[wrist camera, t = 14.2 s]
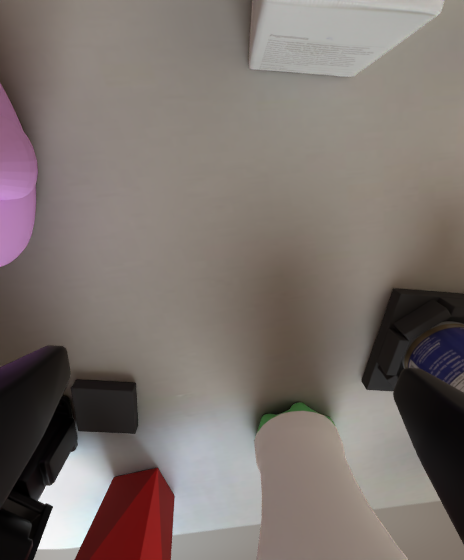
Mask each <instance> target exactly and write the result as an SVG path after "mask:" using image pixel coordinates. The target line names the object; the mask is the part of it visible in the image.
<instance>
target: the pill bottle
mask: <svg viewBox="0 0 464 560" xmlns="http://www.w3.org/2000/svg"><path fill="white" fill-rule="evenodd" d="M402 363H403V367H404V368H419V369H422V370H424V371H426V372H428V373H430V374H431V375H433V376H435V377H437V378H439V379H440V380H442V381H444V382H446V383H448V384H449V385H451V386H453V387H455V388H457V389H458V390H460V391H462V392H464V324H462V323H459V322H453V321H444V322H441V323H439V324H437V325H436V326H434V327H432V328H431V329H429V330H427V331H426V332H424V333H422V334H421V335H419V336H417V337H416V338H414V339H412V340H411V341H410V342H409V345H408V347H407V350H406V352H405V355H404V357H403V360H402Z"/></svg>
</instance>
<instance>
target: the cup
mask: <svg viewBox="0 0 464 560" xmlns="http://www.w3.org/2000/svg"><path fill="white" fill-rule="evenodd" d="M254 443H255V453H256V463H257V467H258V469H259V471H260V473H261V487H262V520H261V528H260V537H259V544H258V552H257V560H409V559H408V558H407V557H406V556H405V555H404V553H403V552H402V551H401V549H400V548H399V547H398V546H397V544H396V543H395V542H394V540H393V539H392V537H391V536H390V534H389V533H388V531H387V530H386V529H385V527H384V526H383V524H382V523H381V521H380V520H379V519H378V517H377V516H376V514H375V513H374V511H373V510H372V508H371V507H370V505H369V504H368V502H367V500H366V498H365V497H364V495H363V493H362V491H361V489H360V487H359V486H358V484H357V482H356V480H355V478H354V476H353V474H352V471H351V469H350V467H349V465H348V463H347V460H346V458H345V451H344V447H343V443H342V440H341V438H340V435H339V433H338V431H337V428H336V427H335V424H334V422H333V421H332V420H331V418H330V417H328V416H325V415H321V414H319V413H317V412H316V411H314V410H312V409H310V408H309V407H308V406H306V405H305V404H304V403H295V404H294V405H292V406H291V408H290V410H288V411H285V412H283V413H281V414H278V415H274V414H265V415H264V416H263V417H262V418H261V421H260V425H259V428H258V431H257V435H256V437H255V440H254Z"/></svg>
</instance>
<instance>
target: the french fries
mask: <svg viewBox="0 0 464 560" xmlns="http://www.w3.org/2000/svg"><path fill="white" fill-rule="evenodd" d="M173 512H174V494H173V493H172V491H171V489H170V488H169V486H168V484H167V482H166V481H165V479H164V477H163V476H162V474H161V472H160V471H159V469H158V468H154V469H149V470H145V471H140V472H135V473H131V474H126V475H121V476H117V477H114V478H113V480H112V482H111V484H110V486H109V489H108V491H107V493H106V495H105V497H104V499H103V501H102V503H101V505H100V507H99V510H98V512H97V514H96V516H95V518H94V520H93V522H92V524H91V526H90V528H89V531H88V533H87V535H86V537H85V539H84V541H83V543H82V545H81V547H80V550H79V552H78V554H77V556H76V558H75V560H171V546H172V545H171V544H172V529H173Z"/></svg>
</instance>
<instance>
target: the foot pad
mask: <svg viewBox="0 0 464 560" xmlns="http://www.w3.org/2000/svg"><path fill="white" fill-rule="evenodd" d="M444 321H453V322H459V323H462V324H464V294H460V293H447V292H434V291H421V290H407V289H393V291H392V294H391V297H390V300H389V303H388V306H387V309H386V312H385V315H384V318H383V320H382V323H381V326H380V329H379V332H378V335H377V338H376V341H375V344H374V347H373V350H372V353H371V356H370V359H369V361H368V364H367V367H366V370H365V373H364V376H363V379H362V383H363V384H364V386H365V388H366V389H367V390H380V391H394V388H395V386H396V383H397V381H398V378H399V376H400V373H401V371H402V370H403V369H404V367H403V363H402V360H403V357H404V355H405V352H406V350H407V347H408V345H409V342H410V341H411V340H412V339H414V338H416V337H417V336H419V335H421V334H422V333H424V332H426V331H427V330H429V329H431V328H432V327H434V326H436V325H437V324H439V323H441V322H444Z"/></svg>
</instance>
